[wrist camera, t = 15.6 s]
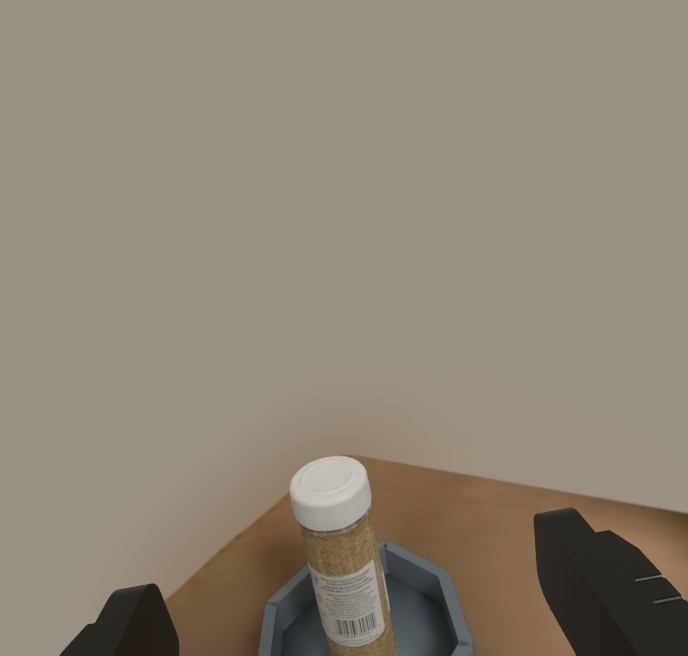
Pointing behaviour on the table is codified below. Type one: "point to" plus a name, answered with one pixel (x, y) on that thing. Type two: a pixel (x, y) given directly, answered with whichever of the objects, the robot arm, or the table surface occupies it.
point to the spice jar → (344, 556)
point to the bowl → (405, 610)
